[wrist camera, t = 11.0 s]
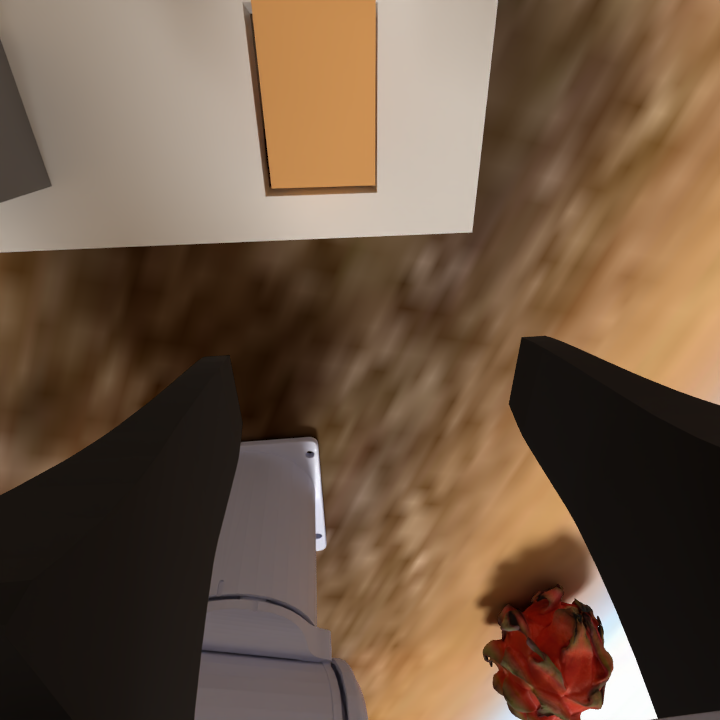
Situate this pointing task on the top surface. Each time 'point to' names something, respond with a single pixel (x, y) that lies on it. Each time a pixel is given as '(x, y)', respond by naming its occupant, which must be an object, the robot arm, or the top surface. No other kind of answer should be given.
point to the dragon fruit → (550, 658)
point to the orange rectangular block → (317, 90)
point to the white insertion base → (221, 126)
